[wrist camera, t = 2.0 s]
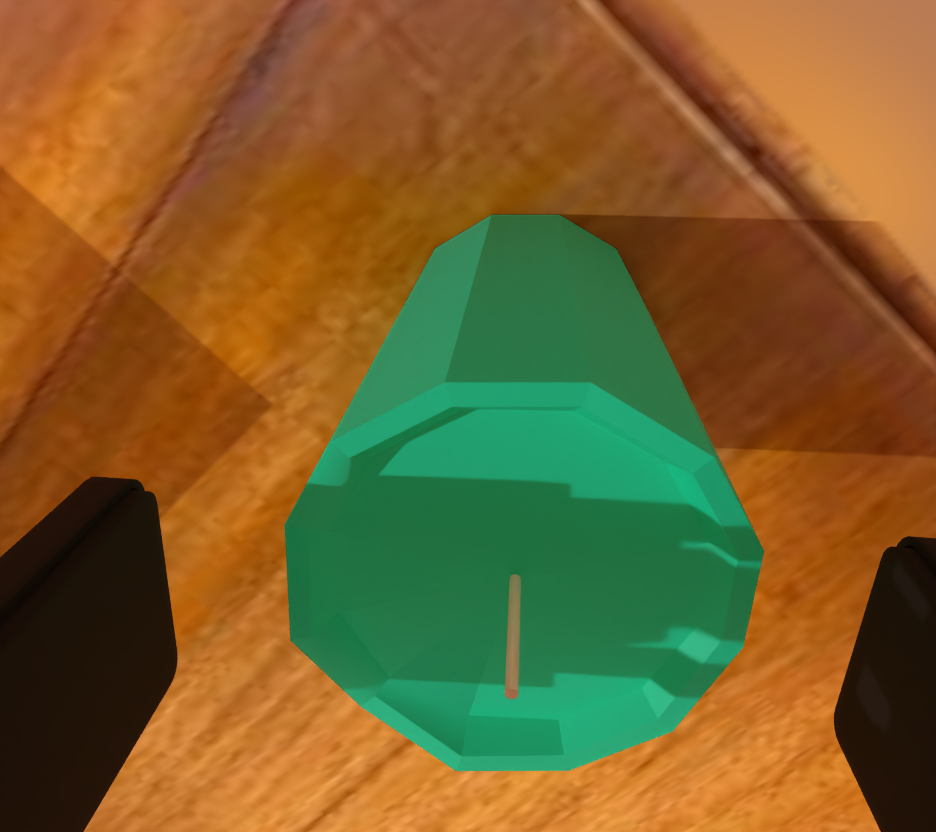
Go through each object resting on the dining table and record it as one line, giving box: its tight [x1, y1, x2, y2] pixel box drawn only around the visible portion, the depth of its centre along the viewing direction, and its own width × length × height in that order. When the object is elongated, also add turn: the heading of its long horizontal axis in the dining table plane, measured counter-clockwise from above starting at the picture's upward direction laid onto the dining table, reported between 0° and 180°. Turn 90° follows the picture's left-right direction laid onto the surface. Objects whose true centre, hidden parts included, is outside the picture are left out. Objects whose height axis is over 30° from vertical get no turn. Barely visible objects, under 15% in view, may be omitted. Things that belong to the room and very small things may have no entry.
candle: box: [285, 215, 764, 771], centre depth 13 cm, size 6×6×12 cm
